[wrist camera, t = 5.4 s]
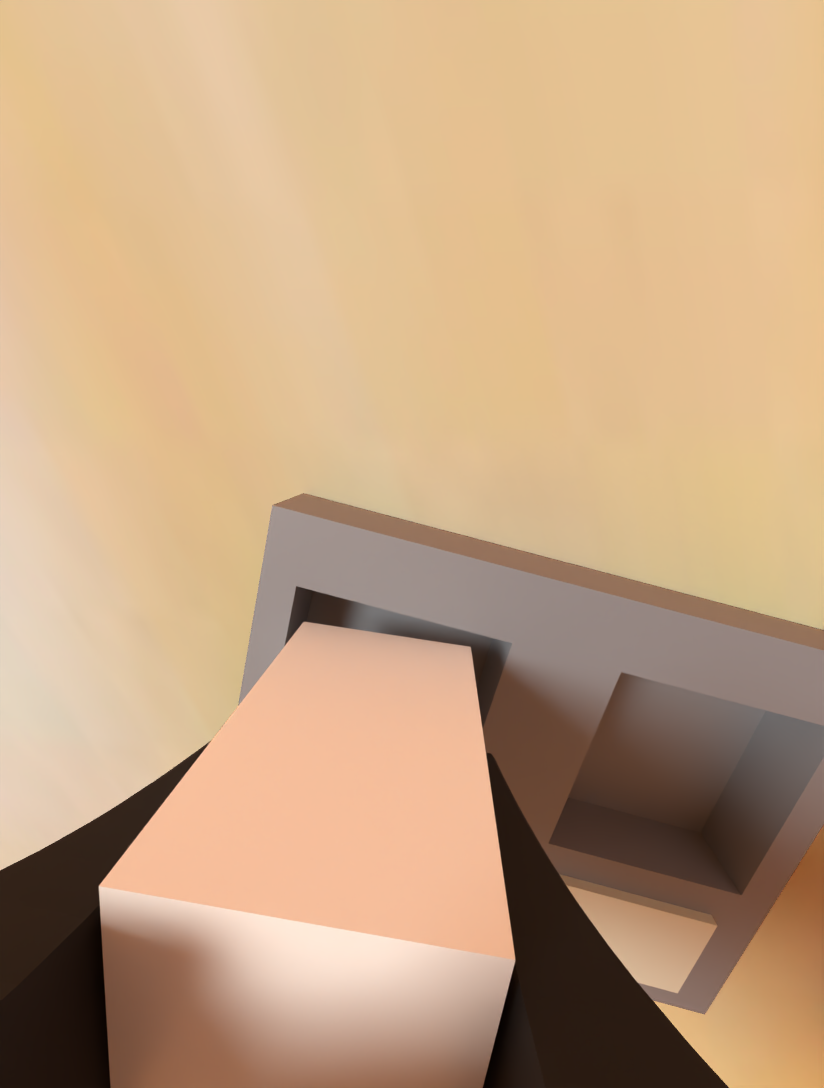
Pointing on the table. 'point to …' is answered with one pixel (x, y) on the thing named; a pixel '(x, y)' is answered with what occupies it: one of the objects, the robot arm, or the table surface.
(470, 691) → the plug block
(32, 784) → the table surface
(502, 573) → the organiser tray
